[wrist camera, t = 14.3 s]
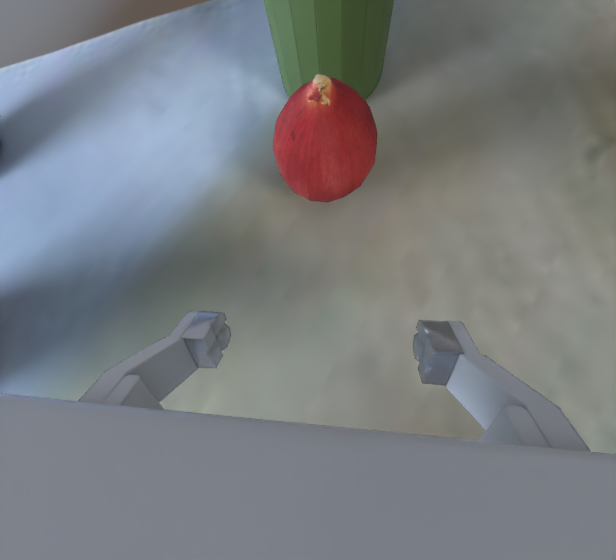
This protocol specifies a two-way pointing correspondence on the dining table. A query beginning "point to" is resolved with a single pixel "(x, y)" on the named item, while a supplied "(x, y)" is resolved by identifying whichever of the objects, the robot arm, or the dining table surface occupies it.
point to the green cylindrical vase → (330, 40)
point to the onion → (325, 140)
